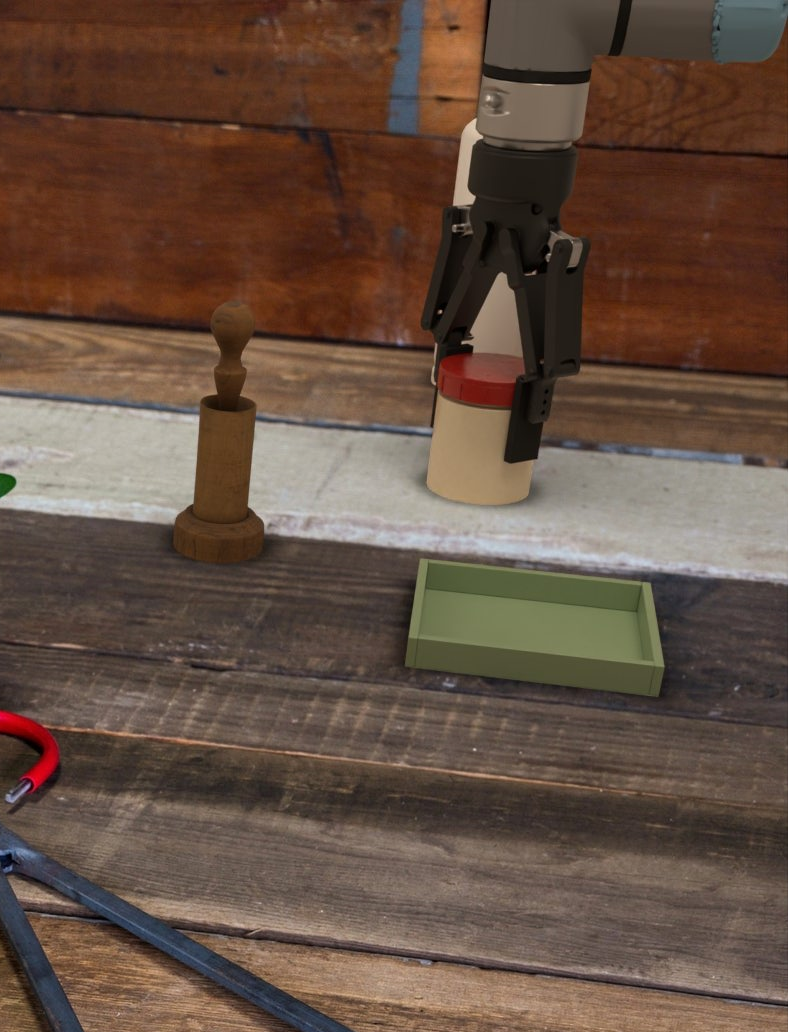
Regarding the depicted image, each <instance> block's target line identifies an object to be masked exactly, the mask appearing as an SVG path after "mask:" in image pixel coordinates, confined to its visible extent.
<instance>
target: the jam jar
mask: <svg viewBox="0 0 788 1032" xmlns="http://www.w3.org/2000/svg"><path fill="white" fill-rule="evenodd" d="M511 409H512V406H492V405H483V404H476V403H470V402H465V401H462V400H458V399H455V398H452V397H450V396H447V395H445V394H444V393H442V392H441V391H440V390H439V389H438V393H437V401H436V409H435V417H434V425H433V428H432V433H431V441H430V450H429V459H428V466H427V475H426V481H425V482H426V486H427V488H428V489H429V490H430V491H431V492H433V493H435V495H438V496H439V497H443V498H445V499H448V500H451V501H455V502H460V503H464V504H472V505H480V506H482V505H483V506H500V505H501V506H502V505H510V504H515V503H518V502H520V501H522V500H524V499H526V498H527V497H528V496H529V493H530V488H531V481H532V476H533V469H534V463H535V460H530V461H524V462H518V463H513V464H509V463H507V462H505V461H504V455H505V449H506V442H507V436H508V429H509V422H510V416H511Z"/></svg>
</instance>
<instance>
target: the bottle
mask: <svg viewBox="0 0 788 1032" xmlns="http://www.w3.org/2000/svg"><path fill="white" fill-rule="evenodd" d="M476 119H477V117H475V118H474V119H472V120H471V121H470V122H468V123H467V124H466V125H465V126H464V129H463V131H462V133H461V136H460V137H461V138H460V145H459V152H458V161H457V169H456V176H455V185H454V193H453V199H452V200H453V201H452V202H453V203H452V206H457V205H468V204H473V202H474V200H475V197H476V196H474V195H472V194H471V193H470V192H469V190H468V187H467V184H468V176H469V169H470V161H471V153H472V146H473V145H474V144H476V141H477V140H479V139H483V136H482V135H480V134H479V133H478V132H477V131H476V129H475V127H476ZM534 274H537V270H535V271H534V272H532V274H525V275H534ZM439 313H442V310H438V314H439ZM470 333H471V334H472V336H471V337H474V338H473V339H472V340H469V341H462V343H461V344H470V345H473V346H474V348H473V353H498V354H506V355H513V356H518V357H522V358H523V352H522V345H521V337H520V330H519V323H518V316H517V308H516V301H515V294H514V291H513V290H512V289H511V288H509V286H508V282H507V275H506V274H504V273H503V272H501V273H499V274H498V275H497V277H496V279H495V281H494V283H493V286H492V288H491V290H490V292H489V294H488V296H487V298H486V300H485V302H484V304H483V306H482V308H481V310H480V312H479V314H478V316H477V318H476V320H475V323H474V325H473V327H472V329H471V331H470ZM436 352H437V343H436V342H435V343H434V353H433V362H434V365H433V366H432V368H431V374H430V375H431V376H430V382H431V384H432V385H434V386H435V387H436V382H434V368H435V363H436V362H435V360H436Z"/></svg>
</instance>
